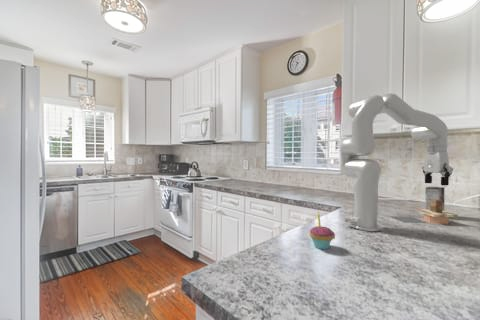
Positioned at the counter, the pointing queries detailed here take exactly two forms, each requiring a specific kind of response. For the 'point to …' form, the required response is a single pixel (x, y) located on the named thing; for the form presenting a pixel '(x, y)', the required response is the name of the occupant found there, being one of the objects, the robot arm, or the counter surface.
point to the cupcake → (321, 236)
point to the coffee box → (434, 195)
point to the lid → (436, 210)
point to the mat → (408, 219)
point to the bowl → (436, 219)
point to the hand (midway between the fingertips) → (436, 184)
